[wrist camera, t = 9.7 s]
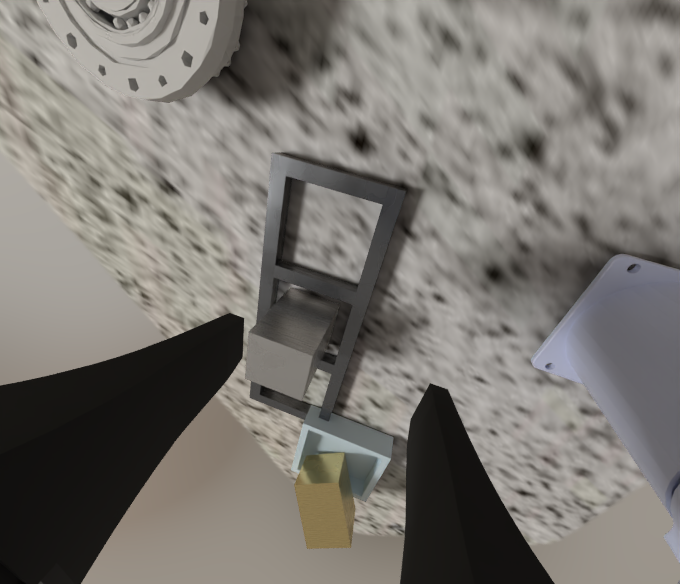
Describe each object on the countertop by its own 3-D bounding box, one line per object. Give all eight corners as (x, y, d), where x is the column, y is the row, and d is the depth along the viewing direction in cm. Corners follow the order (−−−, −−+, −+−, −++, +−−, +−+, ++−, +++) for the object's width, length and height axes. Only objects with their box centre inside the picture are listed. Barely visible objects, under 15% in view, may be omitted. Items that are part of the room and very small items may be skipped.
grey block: (340, 304, 21) (312, 356, 16) (329, 343, 23) (301, 401, 18) (290, 287, 21) (248, 332, 16) (284, 327, 23) (245, 378, 18)
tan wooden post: (338, 482, 24) (351, 547, 24) (344, 452, 28) (355, 508, 28) (294, 485, 25) (307, 548, 25) (306, 455, 29) (317, 510, 29)
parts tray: (393, 437, 26) (391, 458, 24) (369, 480, 30) (365, 501, 28) (311, 404, 27) (303, 423, 25) (298, 451, 31) (291, 469, 29)
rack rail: (406, 188, 16) (405, 191, 15) (329, 419, 27) (326, 428, 26) (279, 152, 17) (271, 152, 16) (254, 390, 28) (249, 397, 27)
